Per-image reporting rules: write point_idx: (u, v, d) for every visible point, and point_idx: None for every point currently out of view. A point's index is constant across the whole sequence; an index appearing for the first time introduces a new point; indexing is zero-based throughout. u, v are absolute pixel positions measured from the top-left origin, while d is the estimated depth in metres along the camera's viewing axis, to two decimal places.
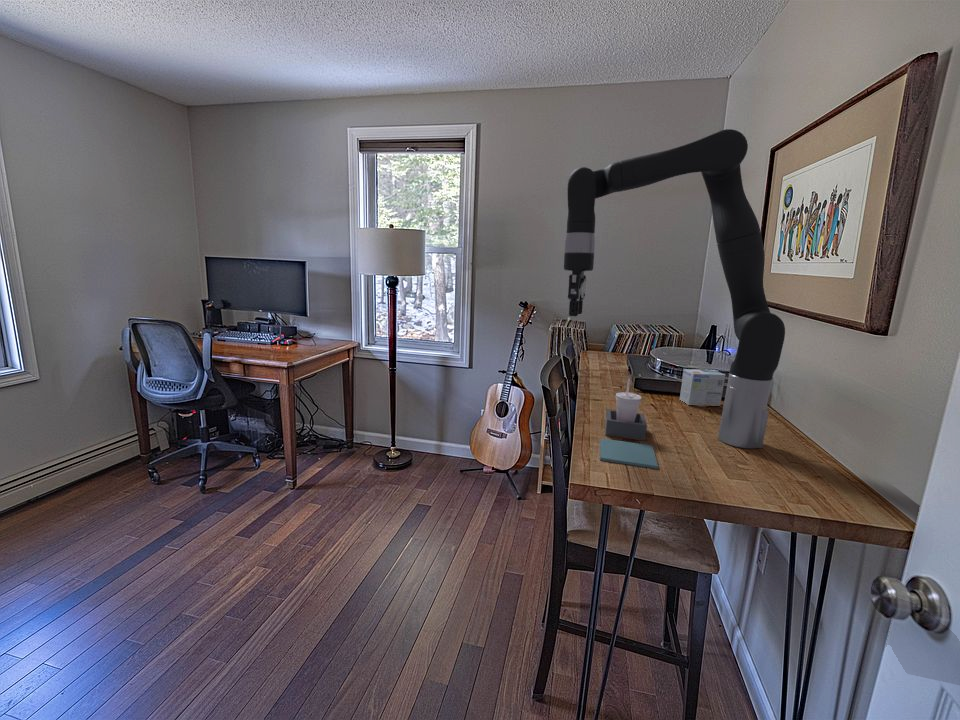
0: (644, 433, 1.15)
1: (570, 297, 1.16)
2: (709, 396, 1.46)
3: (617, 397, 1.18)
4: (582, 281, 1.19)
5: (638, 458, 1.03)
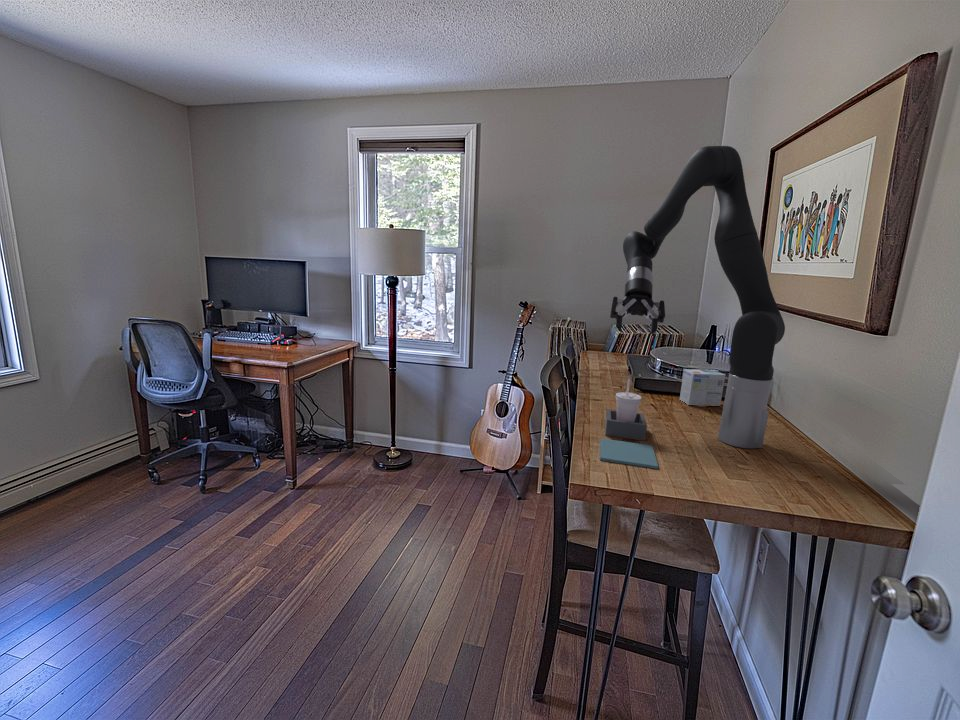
0: (644, 433, 1.15)
1: (610, 315, 1.31)
2: (709, 396, 1.46)
3: (617, 397, 1.18)
4: None
5: (638, 458, 1.03)
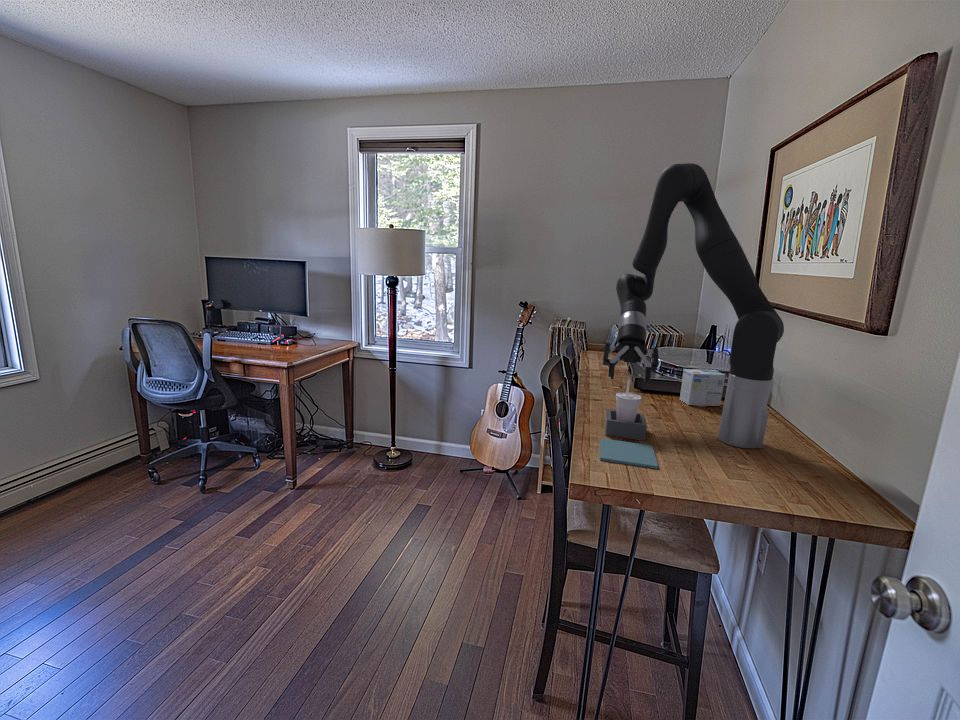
0: (644, 433, 1.15)
1: (603, 363, 1.27)
2: (709, 396, 1.46)
3: (617, 397, 1.18)
4: None
5: (638, 458, 1.03)
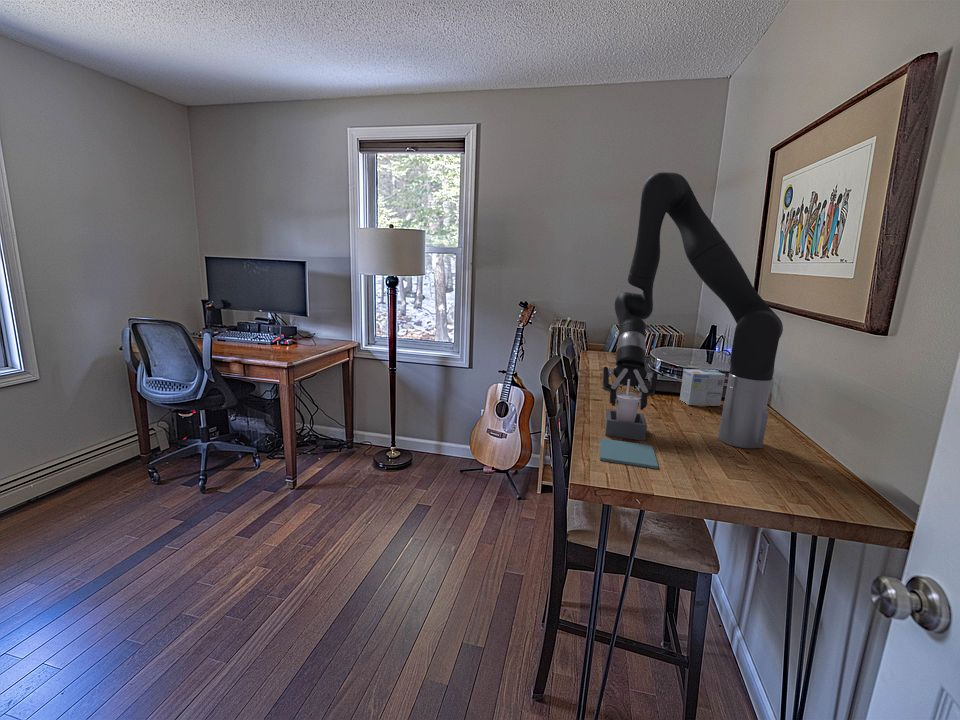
0: (644, 433, 1.15)
1: (604, 388, 1.22)
2: (709, 396, 1.46)
3: (617, 397, 1.18)
4: None
5: (638, 458, 1.03)
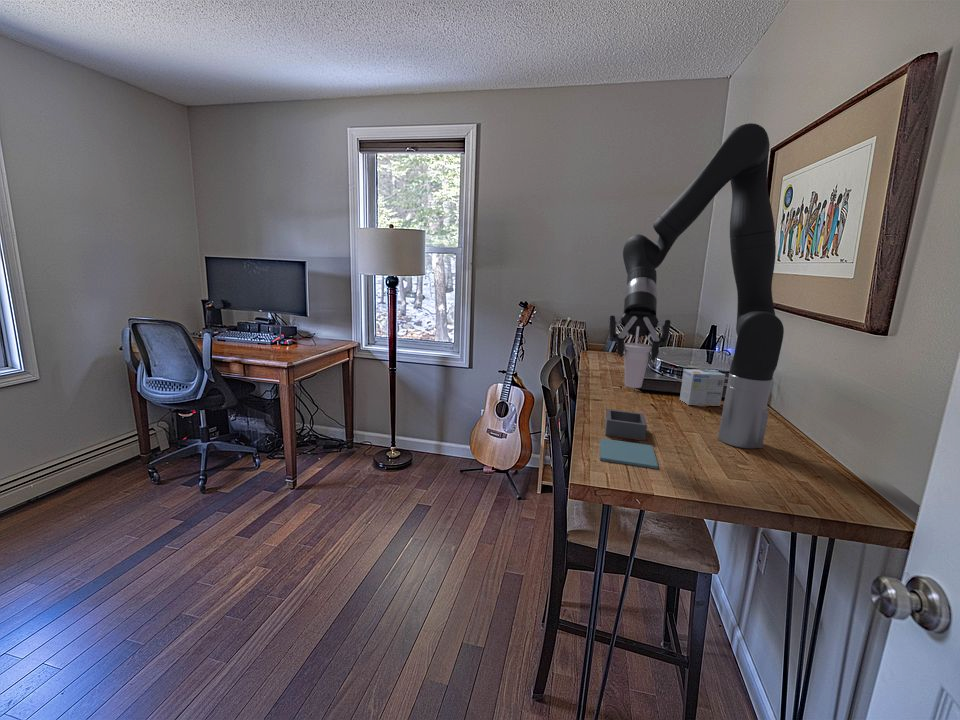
0: (644, 433, 1.15)
1: (610, 338, 1.10)
2: (709, 396, 1.46)
3: (625, 346, 1.06)
4: None
5: (638, 458, 1.03)
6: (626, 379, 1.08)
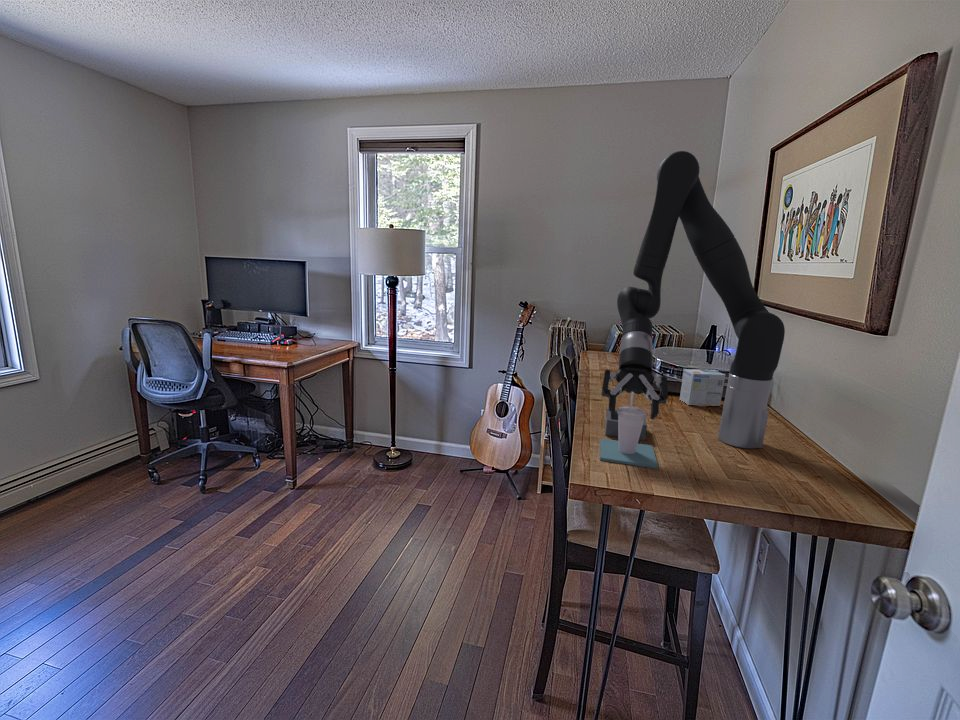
0: (644, 433, 1.15)
1: (602, 393, 1.08)
2: (709, 396, 1.46)
3: (619, 412, 1.04)
4: None
5: (638, 458, 1.03)
6: (620, 444, 1.06)
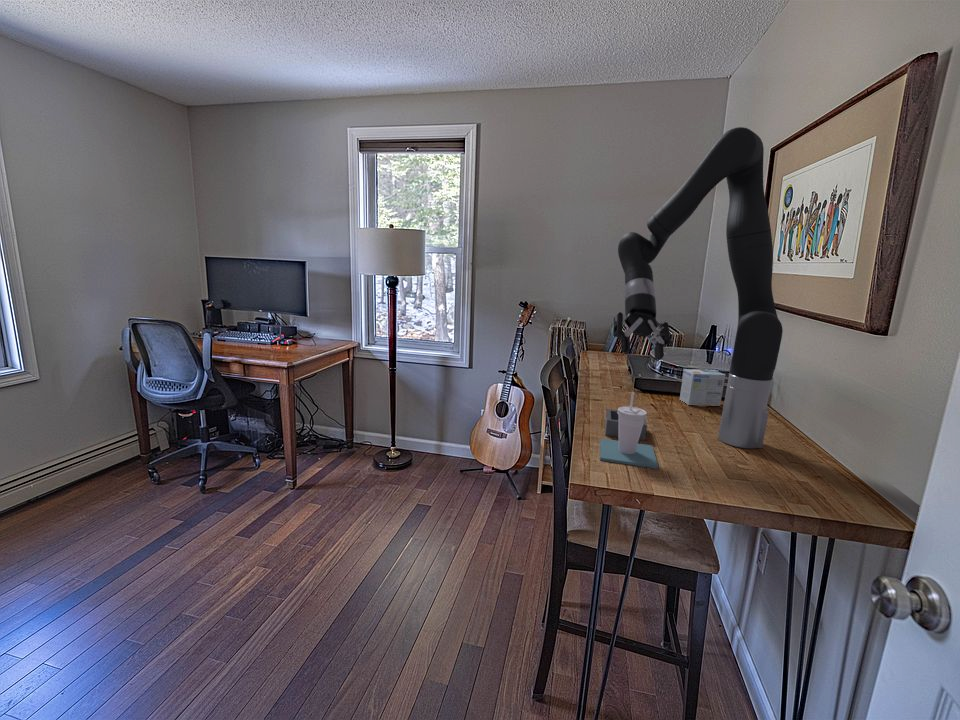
0: (644, 433, 1.15)
1: (614, 334, 1.15)
2: (709, 396, 1.46)
3: (619, 412, 1.04)
4: (636, 320, 1.16)
5: (638, 458, 1.03)
6: (620, 445, 1.05)
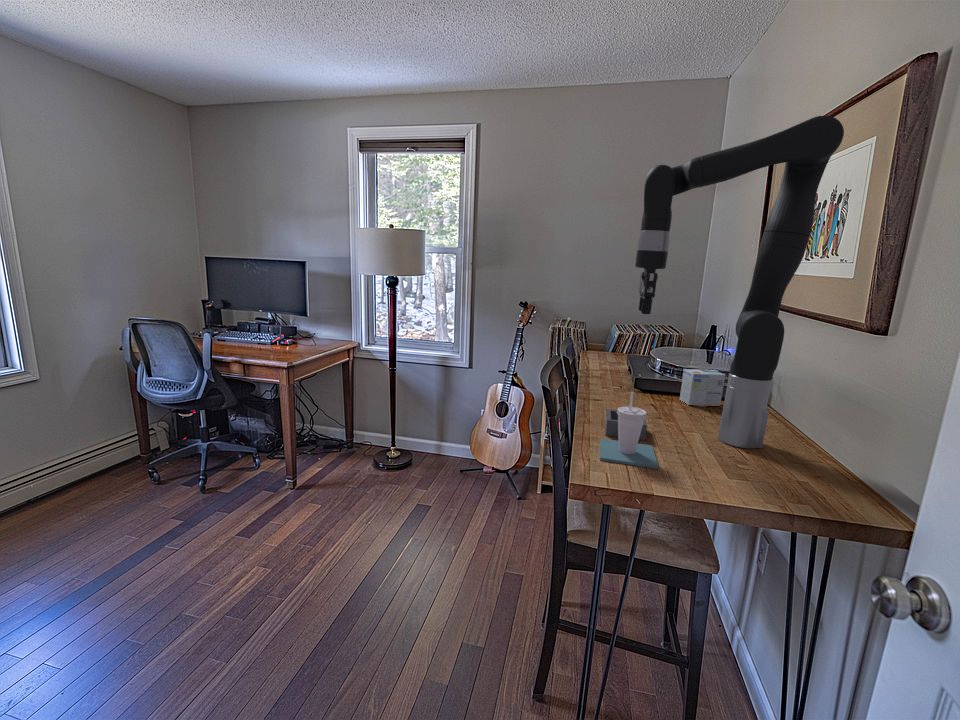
0: (644, 433, 1.15)
1: (646, 295, 1.16)
2: (709, 396, 1.46)
3: (619, 412, 1.04)
4: (655, 279, 1.19)
5: (638, 458, 1.03)
6: (620, 445, 1.05)
